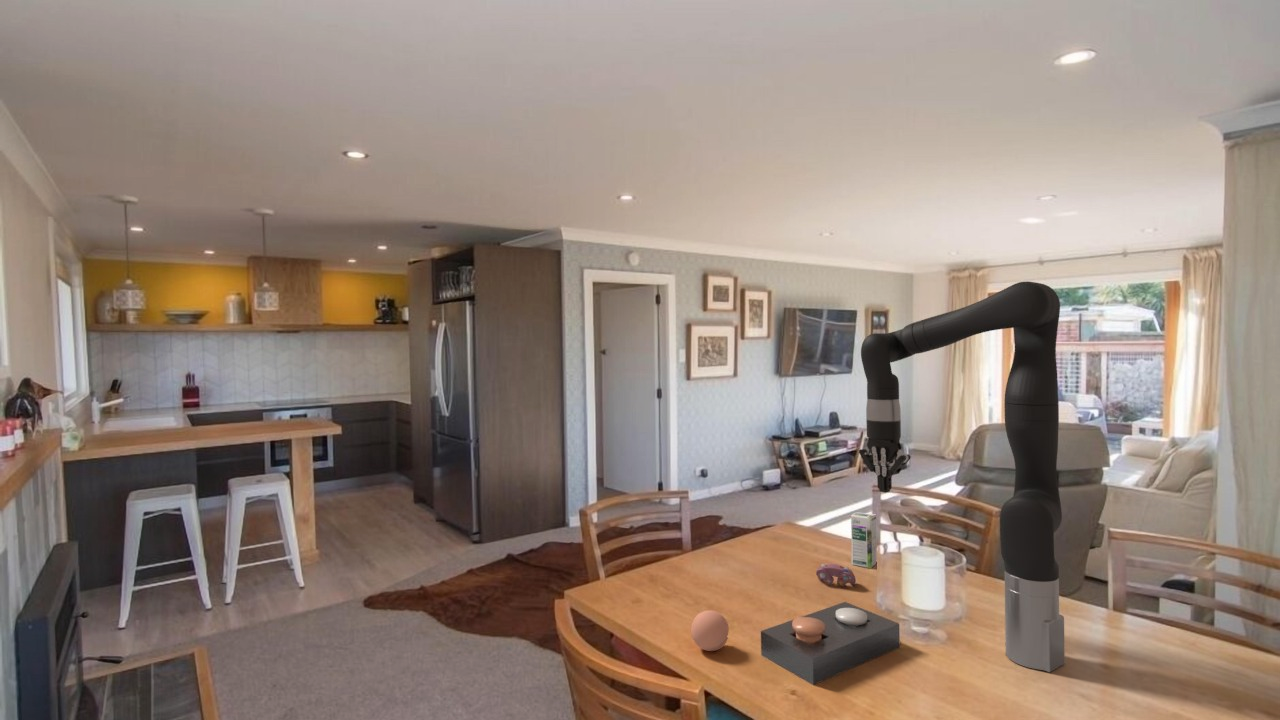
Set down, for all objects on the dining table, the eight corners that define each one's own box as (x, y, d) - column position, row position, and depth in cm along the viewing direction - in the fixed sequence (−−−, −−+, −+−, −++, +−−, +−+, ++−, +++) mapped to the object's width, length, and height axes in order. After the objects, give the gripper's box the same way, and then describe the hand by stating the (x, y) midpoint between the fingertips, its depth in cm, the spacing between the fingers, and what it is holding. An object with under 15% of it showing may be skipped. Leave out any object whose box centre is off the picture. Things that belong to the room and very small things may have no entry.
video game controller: (816, 588, 169) (813, 569, 166) (819, 575, 172) (816, 556, 169) (854, 594, 164) (852, 574, 161) (857, 581, 168) (855, 561, 165)
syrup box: (851, 565, 181) (850, 515, 181) (857, 559, 186) (856, 510, 186) (871, 569, 178) (870, 518, 178) (877, 563, 183) (876, 513, 182)
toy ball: (735, 646, 133) (734, 609, 133) (719, 661, 127) (718, 623, 127) (701, 637, 138) (701, 601, 138) (684, 652, 131) (684, 614, 131)
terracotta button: (832, 653, 126) (831, 625, 126) (810, 662, 122) (809, 633, 122) (808, 641, 131) (807, 614, 131) (786, 649, 128) (785, 622, 128)
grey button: (874, 641, 133) (873, 615, 133) (854, 649, 129) (853, 623, 129) (849, 630, 138) (849, 605, 138) (829, 638, 135) (829, 612, 135)
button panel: (899, 647, 131) (899, 623, 131) (813, 684, 118) (812, 658, 117) (845, 623, 143) (845, 601, 143) (761, 655, 129) (760, 631, 129)
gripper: (918, 419, 144) (919, 494, 144) (869, 414, 155) (871, 484, 155) (898, 421, 140) (899, 499, 140) (849, 417, 151) (850, 488, 151)
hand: (884, 491), depth 147 cm, fingers closed
